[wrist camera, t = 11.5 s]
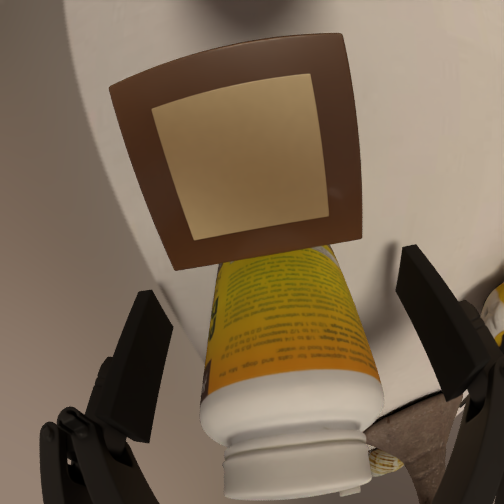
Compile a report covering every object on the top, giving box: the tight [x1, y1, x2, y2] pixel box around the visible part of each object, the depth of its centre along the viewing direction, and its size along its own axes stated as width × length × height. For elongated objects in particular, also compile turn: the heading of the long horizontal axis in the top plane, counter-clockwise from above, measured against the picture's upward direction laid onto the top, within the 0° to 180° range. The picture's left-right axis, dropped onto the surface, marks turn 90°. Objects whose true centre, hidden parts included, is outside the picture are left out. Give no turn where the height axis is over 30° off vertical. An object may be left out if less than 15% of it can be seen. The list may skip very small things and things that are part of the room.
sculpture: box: [363, 393, 463, 504], centre depth 21 cm, size 17×17×20 cm
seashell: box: [368, 449, 404, 476], centre depth 39 cm, size 10×10×10 cm
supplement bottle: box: [200, 245, 384, 500], centre depth 9 cm, size 6×6×10 cm
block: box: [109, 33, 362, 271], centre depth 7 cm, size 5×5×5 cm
